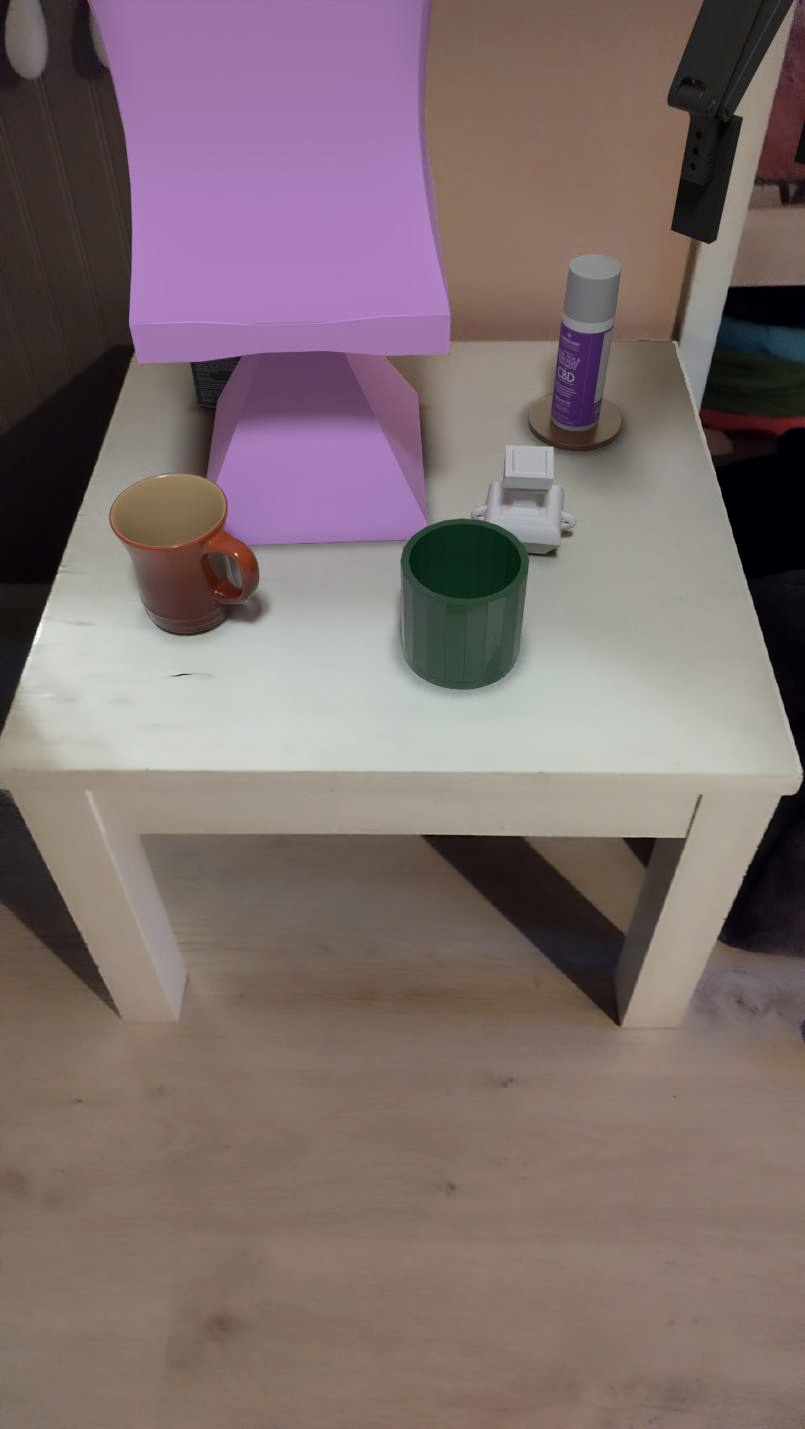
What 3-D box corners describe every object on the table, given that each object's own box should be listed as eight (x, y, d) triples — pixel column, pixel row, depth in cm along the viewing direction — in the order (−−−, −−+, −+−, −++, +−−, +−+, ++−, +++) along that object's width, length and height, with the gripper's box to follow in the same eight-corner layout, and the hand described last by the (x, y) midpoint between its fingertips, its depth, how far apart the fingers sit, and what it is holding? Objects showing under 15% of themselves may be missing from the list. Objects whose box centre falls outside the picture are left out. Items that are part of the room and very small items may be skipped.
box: (251, 412, 101) (236, 309, 92) (196, 407, 101) (177, 305, 93) (270, 368, 106) (257, 267, 97) (217, 364, 106) (200, 263, 98)
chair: (431, 400, 101) (437, -198, 67) (444, 549, 87) (461, -112, 52) (207, 407, 101) (95, -190, 66) (184, 558, 87) (27, -101, 52)
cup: (543, 645, 80) (555, 559, 73) (463, 708, 76) (468, 624, 69) (458, 588, 84) (461, 502, 77) (378, 646, 80) (374, 560, 73)
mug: (115, 620, 82) (83, 521, 74) (185, 558, 87) (162, 459, 79) (231, 678, 78) (210, 580, 70) (298, 610, 83) (286, 511, 75)
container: (544, 425, 97) (561, 274, 86) (558, 399, 100) (576, 249, 89) (591, 436, 96) (615, 284, 85) (604, 409, 99) (628, 258, 87)
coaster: (639, 422, 99) (640, 417, 98) (581, 463, 95) (582, 457, 94) (567, 386, 103) (568, 380, 102) (508, 423, 99) (509, 418, 98)
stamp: (574, 517, 90) (586, 437, 83) (572, 568, 85) (584, 488, 79) (473, 510, 90) (477, 429, 84) (465, 559, 86) (469, 479, 80)
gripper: (925, -311, 54) (809, 126, 70) (641, -259, 42) (582, 247, 59) (1069, -303, 50) (912, 155, 66) (800, -244, 39) (690, 291, 55)
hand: (757, 199), depth 62 cm, fingers open, 13 cm apart
